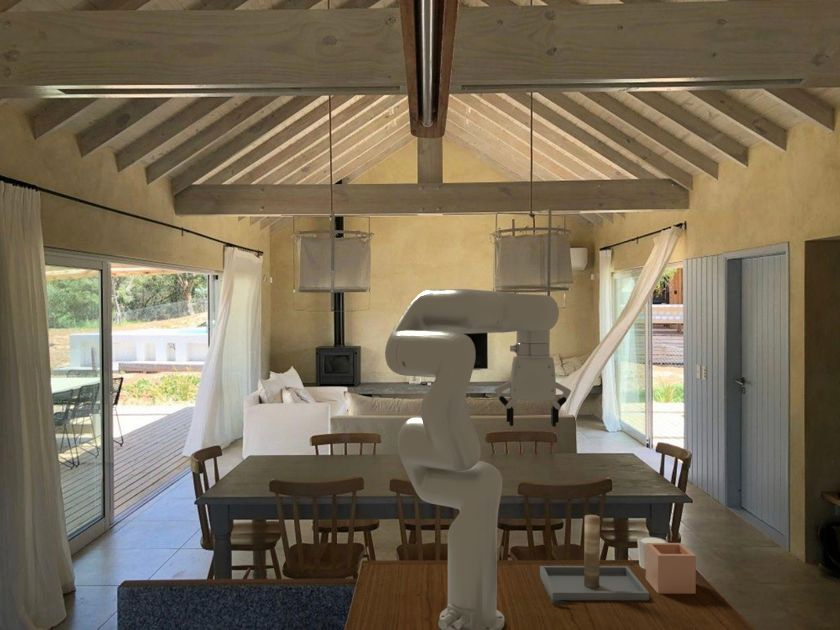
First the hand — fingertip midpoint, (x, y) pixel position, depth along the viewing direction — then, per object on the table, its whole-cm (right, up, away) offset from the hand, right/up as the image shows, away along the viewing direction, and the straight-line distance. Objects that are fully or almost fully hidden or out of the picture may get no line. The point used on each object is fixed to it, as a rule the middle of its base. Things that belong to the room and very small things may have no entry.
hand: (532, 425), depth 161 cm
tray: (+12, -35, -8) cm, 37 cm away
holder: (+29, -35, -8) cm, 46 cm away
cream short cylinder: (+29, -35, +3) cm, 45 cm away
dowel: (+12, -34, -8) cm, 36 cm away
